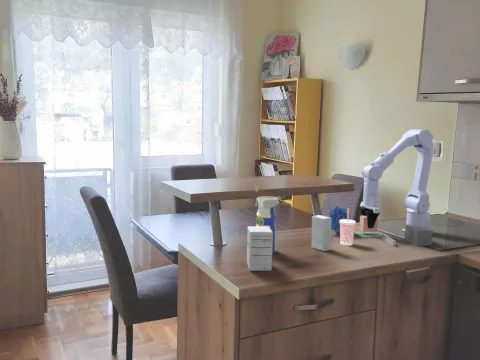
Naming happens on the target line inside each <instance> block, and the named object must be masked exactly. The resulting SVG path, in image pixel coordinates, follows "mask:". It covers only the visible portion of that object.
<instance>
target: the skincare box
mask: <svg viewBox="0 0 480 360" xmlns="http://www.w3.org/2000/svg"><path fill="white" fill-rule="evenodd" d="M331 247H332V230H331V218H330V217H329V216H327V215H320V214H317V215H313V216H311V248H312V249H315V250H319V251H322V252H326V251H327V252H328V251H330V250H331Z"/></svg>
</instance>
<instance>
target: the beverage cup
mask: <svg viewBox="0 0 480 360" xmlns="http://www.w3.org/2000/svg"><path fill="white" fill-rule="evenodd" d="M349 212H350V208H349V207H348V208H347V211H346V213H347V219H342V220H339V221H340V222H339V223H340V233H339V238H340V239H339V241H340V242H339V244H340V245H342V246H352V245H353V244H354V243H353V241H354V235H355V232H354V231H355V227H356V224H357V222H356V220H354V219H350V218H349V219H348V217H349V215H350V214H349Z"/></svg>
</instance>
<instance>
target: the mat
mask: <svg viewBox="0 0 480 360" xmlns="http://www.w3.org/2000/svg"><path fill="white" fill-rule="evenodd" d="M354 234H355V235H356V234H357V236H359V237H360V238H363V239H365V238H370V239H371V238H382V235H381V234H379V233H378V232H362V231H361V230H357V231H355V230H354Z"/></svg>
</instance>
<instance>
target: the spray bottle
mask: <svg viewBox="0 0 480 360" xmlns="http://www.w3.org/2000/svg"><path fill="white" fill-rule="evenodd" d="M253 187H254V192H257V193H259V190H258V189H259V188H260V186H259V184H258V182H256V184H254V186H253ZM255 200H256V202H255V206H257V207H258V208H257V212H256V214H255V215H256V216H257V217H256V218H255V223H256V225H255V226H269V227H270V229H271V230H272V232H273V243H272V254H274V253H276V249H277V247H276V243H277V242H276V235H277V234H276V230H277V229H276V224H275V220H276V219H275V218H276V215H277V214H276V212H275V207H276V206H278V205H279V204H280V200H279V198H278V197H276V196H271V195H269V196H267V195H262V196H257V197H256V199H255Z"/></svg>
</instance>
